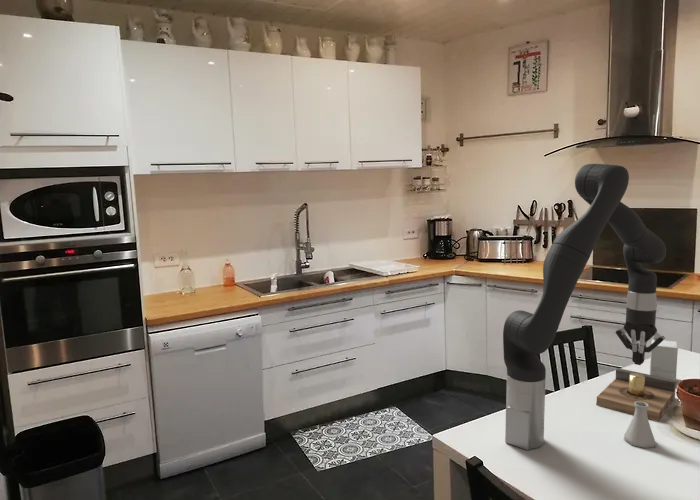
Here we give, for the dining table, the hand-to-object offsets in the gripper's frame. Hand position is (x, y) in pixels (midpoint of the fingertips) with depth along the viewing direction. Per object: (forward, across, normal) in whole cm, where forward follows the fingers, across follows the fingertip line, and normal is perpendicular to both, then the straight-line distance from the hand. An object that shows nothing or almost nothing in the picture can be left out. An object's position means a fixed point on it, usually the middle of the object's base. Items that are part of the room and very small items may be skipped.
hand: (638, 364), depth 150 cm
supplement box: (+12, +2, +23) cm, 26 cm away
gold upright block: (+12, 0, 0) cm, 12 cm away
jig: (+12, 0, 0) cm, 12 cm away
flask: (+12, +7, -25) cm, 29 cm away
